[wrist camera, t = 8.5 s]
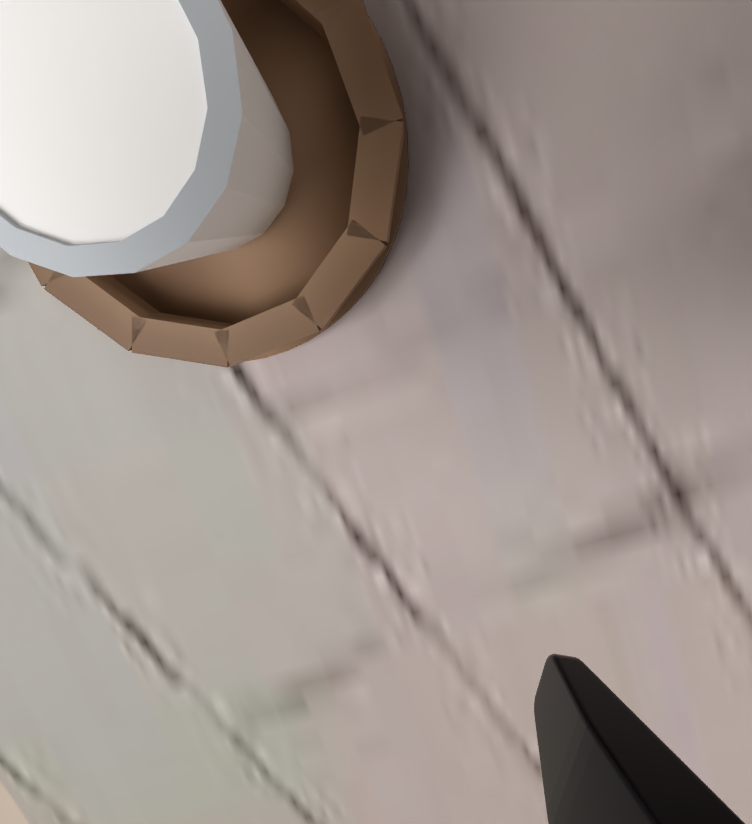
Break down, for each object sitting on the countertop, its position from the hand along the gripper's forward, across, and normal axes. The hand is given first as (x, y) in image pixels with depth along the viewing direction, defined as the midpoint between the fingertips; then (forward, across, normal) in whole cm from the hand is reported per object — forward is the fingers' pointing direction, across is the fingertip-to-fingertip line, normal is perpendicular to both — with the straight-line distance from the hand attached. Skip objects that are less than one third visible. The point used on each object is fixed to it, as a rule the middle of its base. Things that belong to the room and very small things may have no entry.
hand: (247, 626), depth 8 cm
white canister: (+11, +5, -8) cm, 15 cm away
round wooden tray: (+12, +6, -8) cm, 15 cm away
